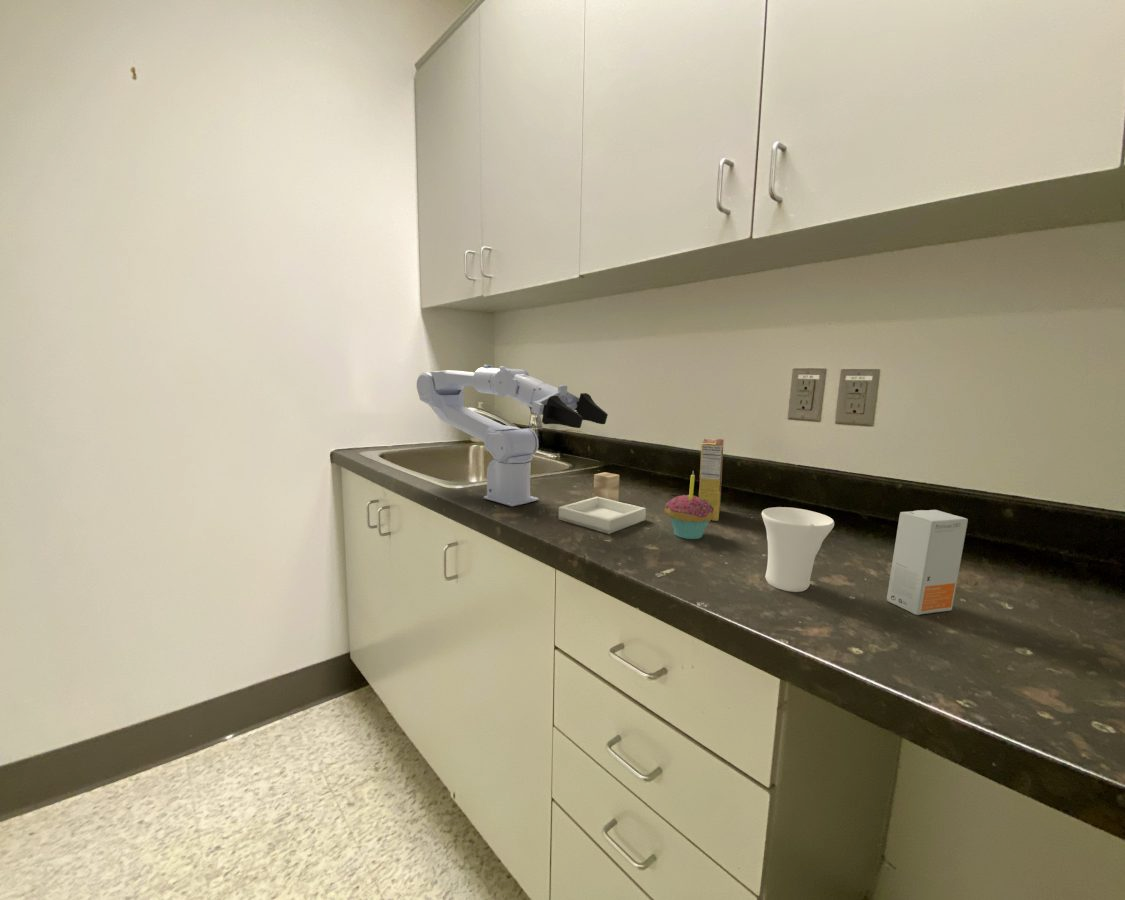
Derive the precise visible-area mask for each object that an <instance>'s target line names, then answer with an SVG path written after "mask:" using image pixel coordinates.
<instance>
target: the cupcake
mask: <svg viewBox="0 0 1125 900" xmlns="http://www.w3.org/2000/svg"><path fill="white" fill-rule="evenodd" d="M695 476H696V475H695V472H694V470H692V474H691V475H690V479H689V480H690V481H689V482H690V483H689V493H688V494H682V495H678V496H675V497H673V498H671V499H669V500H668V501H667V502H666V503H665V505H664V514H665V515H667V516H669V518H670V521H671V524H672V527H673V531H674V535H676V536H677V537H679V538H682V539H687V540H698V539H701V538H702V537H703V535H704V532H705V530H706V528H707V526H708V523H709V522H711V520H712V519H713V518H714V511H713V510H714V507H712V505H711V504H710V503H709V502H708V501H706V500H705V499H704V500H703V499H702V498H699V496H696V495H694V489H695V488H694V487H695V479H696V477H695Z"/></svg>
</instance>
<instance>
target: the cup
mask: <svg viewBox="0 0 1125 900" xmlns="http://www.w3.org/2000/svg"><path fill="white" fill-rule="evenodd" d="M761 517H762V521H763V523H764V526H765V530H766V542H767V565H766V571H765V575H764V578H765V580H766V582H767V584H769V585H770V586H772V587H773V588H776V589H778V590H782V591H785V592H792V593H801V592H804V591H807V589H808V588H809V587H810V583H811V576H812V572H813V567H814V565H815V564H814V563H815V559H816V556H817V555H818V552H819V551H820V550H821V547H822V543H823V542H824V540H825V539H826V537H828V536H829V533H831V531H833V528H834V526H835V521H834V519H833V518H831V517H830V516H828V515H826V514H824V513H823V514H822V513H820V512H816V511H812V510H808V509H803V508H798V507H797V508H796V507H786V506H784V507H782V506H776V507H768V508H765V509H763V510H762V511H761Z"/></svg>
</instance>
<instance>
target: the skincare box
mask: <svg viewBox="0 0 1125 900" xmlns="http://www.w3.org/2000/svg"><path fill="white" fill-rule="evenodd" d="M968 520H969V519H968V518H966V517H963V516H959V515H954V514H952V513H948V512H945V511H941V510H938V509H929V510H925V509H924V510H923V509H920V510H919V509H917V510H913V511H912V510H911V511H900V512H899V517H898V524H897V528H896V529H897V530H896V537H895V544H894V550H893V556H892V562H891V569H890V573H889V574H890V576H889V581H888V587H887V594H886V595H887V596H886V601H887V602H889V603H891V604H893V605H895V606H897V607H899V608H901V609H903V610H906V611H907V612H910V613H911V614H913V615H915V616H920V615H924V614H932V613H941V612H950V611H952V610H953V607H954V601H955V595H956V588H957V584H958V583H957V582H958V577H959V571H960V566H961V561H962V555H963V549H964V543H965V538H966V533H967V528H968V523H969V521H968Z"/></svg>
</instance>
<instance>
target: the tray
mask: <svg viewBox="0 0 1125 900" xmlns="http://www.w3.org/2000/svg"><path fill="white" fill-rule="evenodd" d="M646 511H647V507H642V506H638V505H634V504H629V503H626V502H621V501H619V500H618V501H614V500H609V499H605V498H601V497H593V496H592V497H591V498H587V499H583V500H580V501H577V502H573V503H569V504H568V503H567V504H565V505H562V506H559V507H558V519H557V520H559V521H562V522H566V523H570V524H573V525H576V526H581V527H585V528H588V529H589V530H594V531H597V532H600V533H605V534H606V535H607V534H608V535H611V534H613V533H615V532H617V531H620V530H623V529H626V528H629V527H630V526H633V525H636V524H638V523H642V522H644V521H646V514H647V513H646Z"/></svg>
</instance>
